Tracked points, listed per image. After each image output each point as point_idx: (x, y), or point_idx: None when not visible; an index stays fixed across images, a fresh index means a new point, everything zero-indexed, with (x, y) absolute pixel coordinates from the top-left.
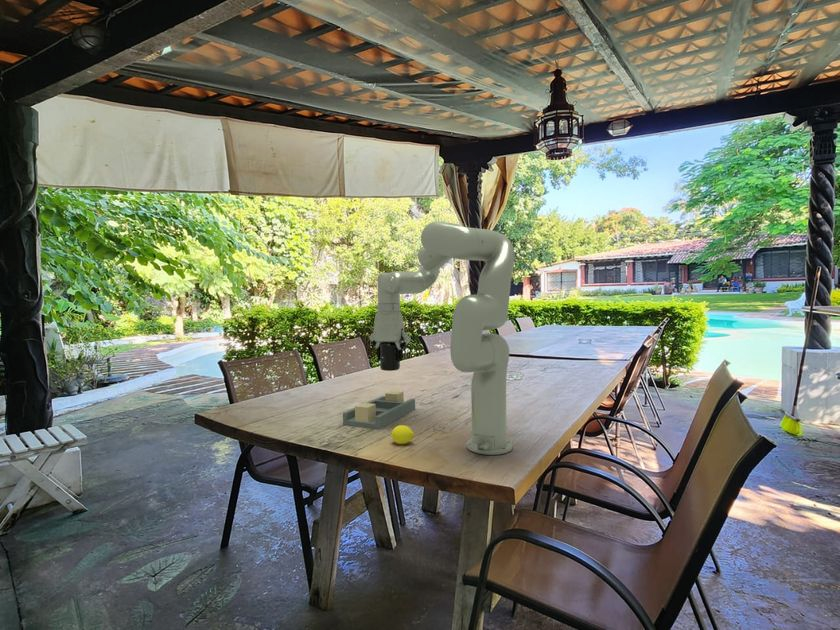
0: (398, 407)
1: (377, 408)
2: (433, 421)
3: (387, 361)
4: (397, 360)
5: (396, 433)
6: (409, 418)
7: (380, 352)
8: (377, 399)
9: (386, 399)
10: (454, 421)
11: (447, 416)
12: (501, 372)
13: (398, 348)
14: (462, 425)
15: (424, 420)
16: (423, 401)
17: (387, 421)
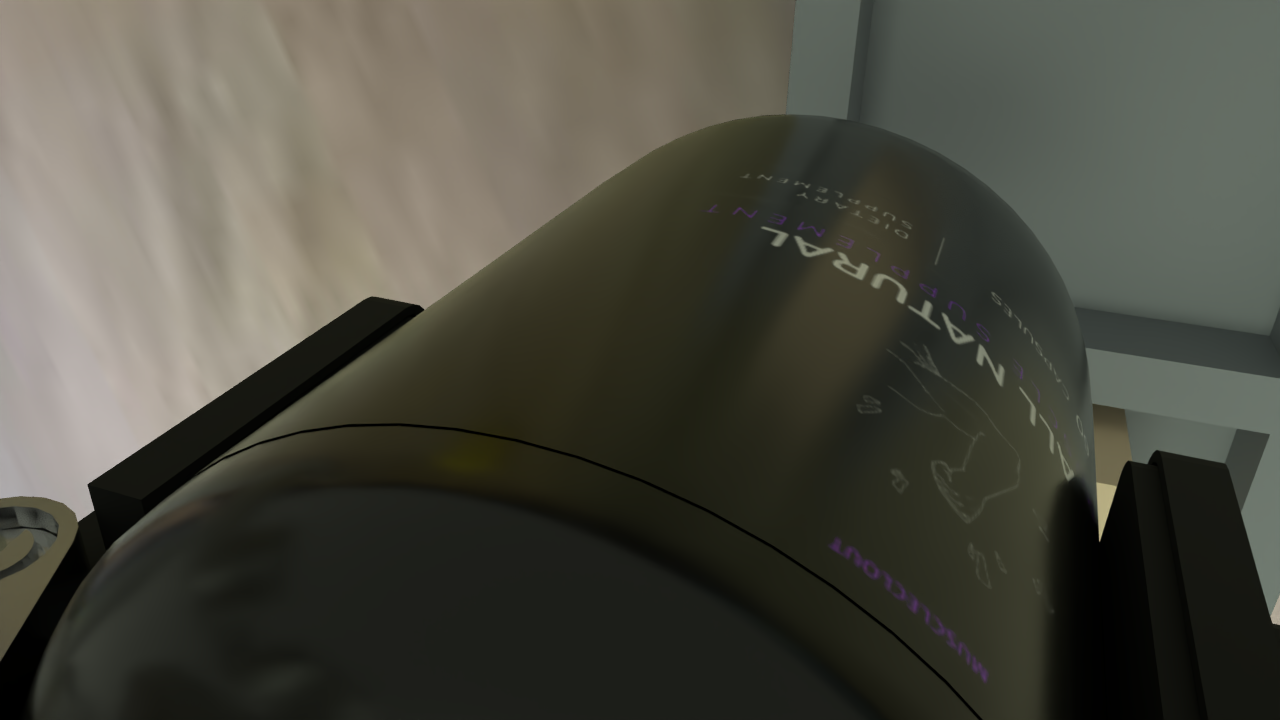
0: (787, 104)
1: (1216, 293)
2: (428, 81)
3: (664, 178)
4: (380, 303)
5: None
6: (701, 120)
7: (1001, 500)
8: (1273, 455)
9: (1108, 438)
10: (269, 136)
11: (392, 279)
12: None
13: (51, 571)
14: (158, 31)
15: (522, 90)
16: None
17: None
